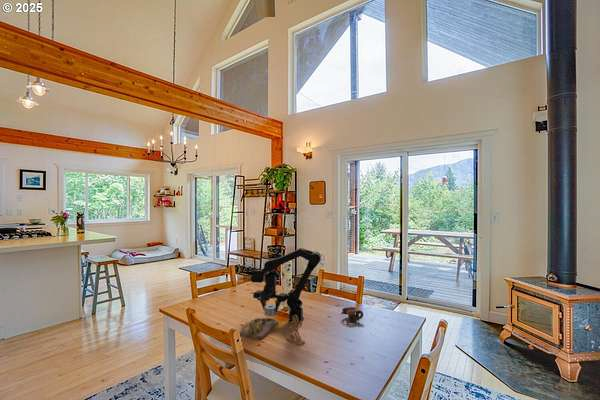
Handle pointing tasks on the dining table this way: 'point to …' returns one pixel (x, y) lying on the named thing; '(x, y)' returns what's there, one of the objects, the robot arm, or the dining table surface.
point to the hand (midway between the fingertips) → (270, 311)
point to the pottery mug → (352, 314)
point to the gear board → (259, 328)
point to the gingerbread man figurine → (292, 338)
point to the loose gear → (270, 310)
